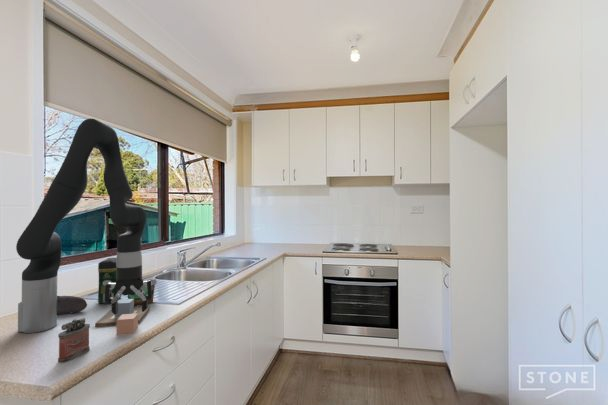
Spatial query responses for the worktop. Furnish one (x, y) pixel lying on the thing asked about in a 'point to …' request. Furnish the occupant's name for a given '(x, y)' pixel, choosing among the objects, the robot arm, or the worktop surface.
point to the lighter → (73, 340)
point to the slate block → (125, 307)
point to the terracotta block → (127, 324)
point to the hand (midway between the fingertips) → (129, 312)
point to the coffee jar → (107, 278)
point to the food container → (138, 300)
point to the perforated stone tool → (70, 304)
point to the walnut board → (111, 320)
